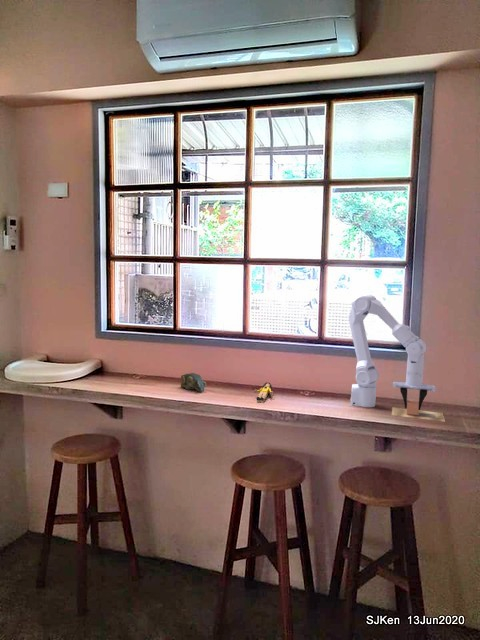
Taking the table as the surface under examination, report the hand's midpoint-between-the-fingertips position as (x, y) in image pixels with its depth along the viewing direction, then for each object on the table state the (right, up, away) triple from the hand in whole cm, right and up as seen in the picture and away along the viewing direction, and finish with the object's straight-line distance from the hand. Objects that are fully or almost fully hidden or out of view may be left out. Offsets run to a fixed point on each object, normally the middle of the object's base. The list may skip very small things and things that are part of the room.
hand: (412, 408), depth 174 cm
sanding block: (0, -1, 0) cm, 1 cm away
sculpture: (-84, +2, +30) cm, 90 cm away
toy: (-54, 0, +21) cm, 58 cm away
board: (+2, -3, 0) cm, 4 cm away
